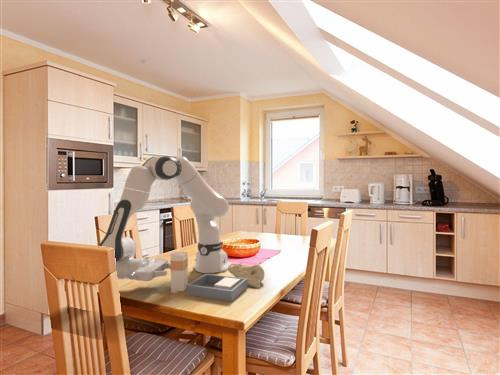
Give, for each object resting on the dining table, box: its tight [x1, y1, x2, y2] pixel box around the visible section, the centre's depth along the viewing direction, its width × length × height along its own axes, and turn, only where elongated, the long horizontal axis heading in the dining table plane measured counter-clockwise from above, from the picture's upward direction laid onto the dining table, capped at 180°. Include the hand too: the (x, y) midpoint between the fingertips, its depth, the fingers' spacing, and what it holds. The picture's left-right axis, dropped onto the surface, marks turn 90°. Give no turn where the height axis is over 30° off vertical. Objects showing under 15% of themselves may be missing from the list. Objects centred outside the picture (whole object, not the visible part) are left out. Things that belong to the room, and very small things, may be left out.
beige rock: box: [227, 262, 265, 289], centre depth 141 cm, size 15×7×15 cm
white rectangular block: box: [214, 277, 240, 290], centre depth 128 cm, size 10×7×4 cm
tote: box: [185, 273, 249, 303], centre depth 130 cm, size 16×20×5 cm
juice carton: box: [170, 251, 189, 294], centre depth 134 cm, size 6×6×16 cm
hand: (170, 270), depth 134 cm, fingers open, 8 cm apart
